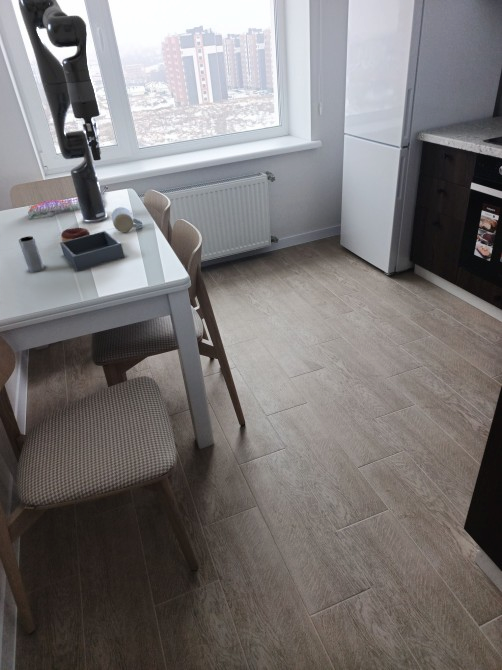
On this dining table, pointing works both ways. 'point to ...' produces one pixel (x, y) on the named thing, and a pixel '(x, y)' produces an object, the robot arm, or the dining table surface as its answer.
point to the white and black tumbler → (31, 254)
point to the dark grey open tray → (92, 250)
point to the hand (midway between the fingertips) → (97, 157)
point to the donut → (74, 233)
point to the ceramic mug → (124, 220)
